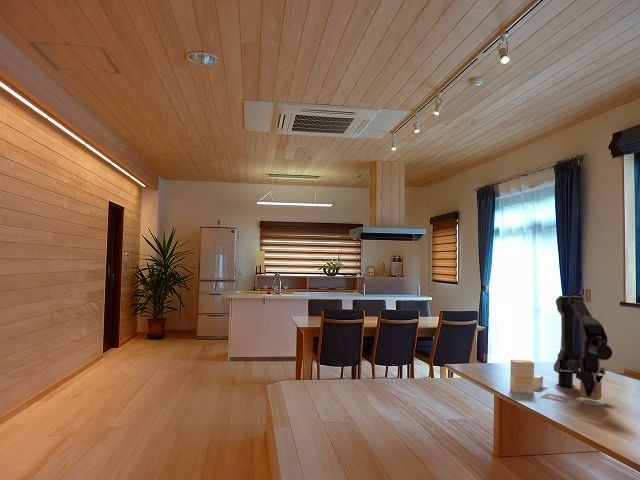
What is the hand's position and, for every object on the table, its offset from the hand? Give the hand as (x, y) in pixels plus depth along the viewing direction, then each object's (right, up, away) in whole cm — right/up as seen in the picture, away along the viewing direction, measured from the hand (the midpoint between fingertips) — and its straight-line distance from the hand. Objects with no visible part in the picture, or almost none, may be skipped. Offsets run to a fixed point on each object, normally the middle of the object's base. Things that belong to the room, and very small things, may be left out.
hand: (590, 394), depth 191 cm
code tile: (-12, -2, +2) cm, 13 cm away
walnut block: (0, -1, 0) cm, 1 cm away
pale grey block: (-14, -3, +18) cm, 23 cm away
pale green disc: (0, -3, 0) cm, 3 cm away
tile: (-14, -3, +18) cm, 23 cm away
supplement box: (-23, -2, +10) cm, 25 cm away
